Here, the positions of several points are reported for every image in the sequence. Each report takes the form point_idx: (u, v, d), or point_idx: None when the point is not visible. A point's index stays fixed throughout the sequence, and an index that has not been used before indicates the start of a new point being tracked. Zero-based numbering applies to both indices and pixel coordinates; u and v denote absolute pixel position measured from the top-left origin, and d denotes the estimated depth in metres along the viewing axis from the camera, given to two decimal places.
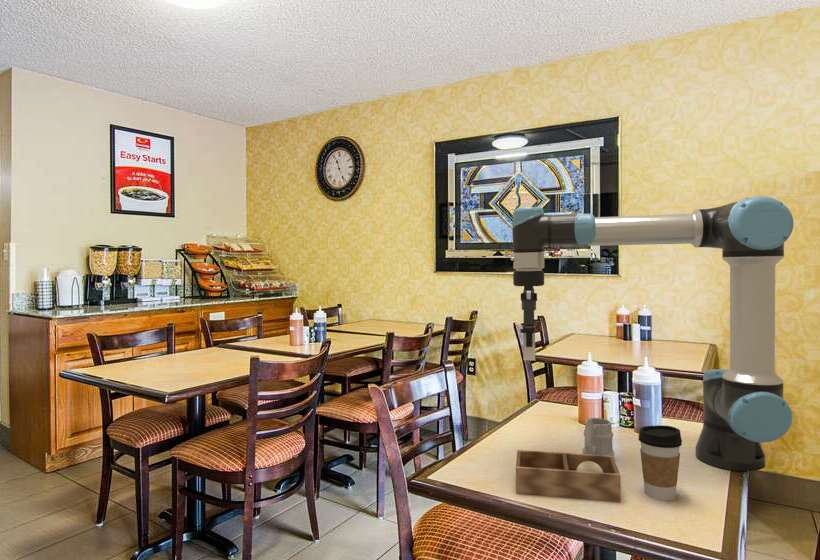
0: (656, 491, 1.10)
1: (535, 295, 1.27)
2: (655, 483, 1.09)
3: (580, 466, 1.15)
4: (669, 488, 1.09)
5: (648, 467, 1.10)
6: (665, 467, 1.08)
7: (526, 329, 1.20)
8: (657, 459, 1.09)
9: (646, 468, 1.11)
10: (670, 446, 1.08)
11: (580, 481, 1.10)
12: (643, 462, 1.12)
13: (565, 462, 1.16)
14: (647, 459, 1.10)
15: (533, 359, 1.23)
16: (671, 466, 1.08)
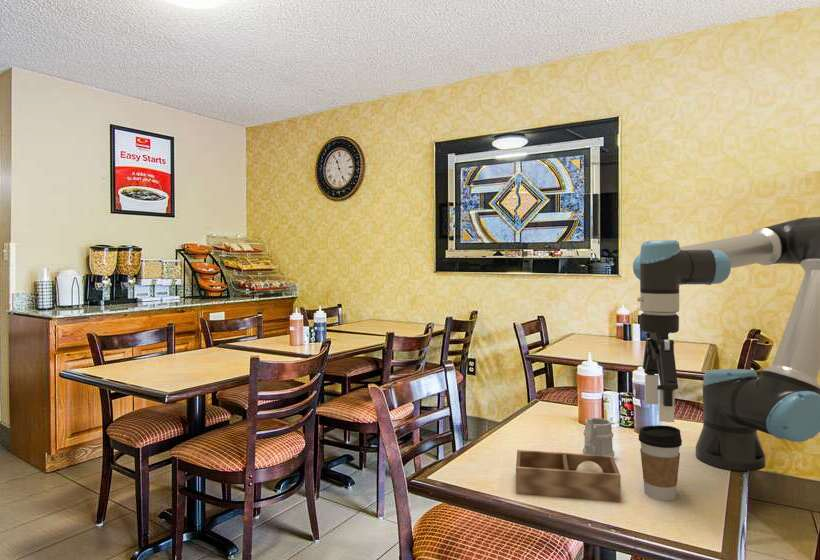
0: (656, 491, 1.10)
1: None
2: (655, 483, 1.10)
3: (580, 466, 1.15)
4: (669, 488, 1.09)
5: (648, 467, 1.10)
6: (665, 467, 1.08)
7: (667, 386, 1.02)
8: (657, 459, 1.09)
9: (646, 468, 1.11)
10: (670, 446, 1.08)
11: (580, 481, 1.10)
12: (643, 462, 1.12)
13: (565, 462, 1.16)
14: (647, 459, 1.10)
15: (672, 420, 1.04)
16: (671, 466, 1.08)
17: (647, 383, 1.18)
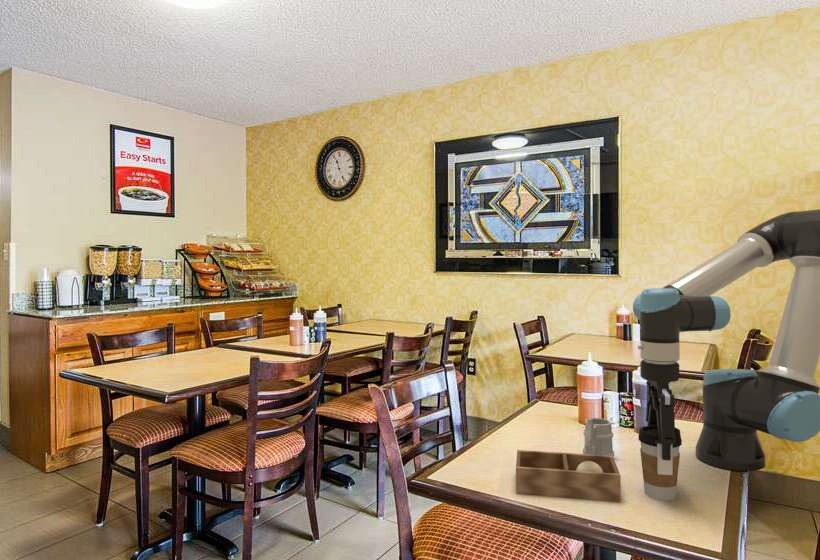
0: (656, 490, 1.10)
1: (670, 392, 1.09)
2: (655, 483, 1.10)
3: (580, 466, 1.15)
4: (669, 488, 1.09)
5: (648, 467, 1.10)
6: None
7: (666, 442, 1.04)
8: None
9: (646, 468, 1.11)
10: None
11: (580, 481, 1.10)
12: (643, 462, 1.12)
13: (565, 462, 1.16)
14: (647, 459, 1.10)
15: (670, 473, 1.07)
16: None
17: None
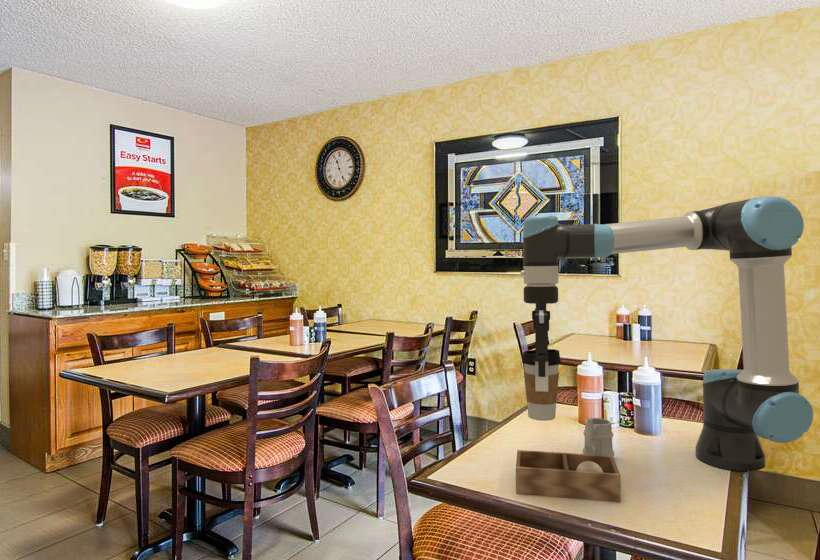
0: (535, 408, 1.15)
1: (548, 314, 1.14)
2: (534, 401, 1.15)
3: (580, 466, 1.15)
4: (547, 405, 1.14)
5: (528, 386, 1.15)
6: None
7: (539, 358, 1.09)
8: None
9: (527, 388, 1.16)
10: None
11: (580, 481, 1.10)
12: (525, 382, 1.17)
13: (565, 462, 1.16)
14: (527, 379, 1.15)
15: (546, 390, 1.12)
16: (548, 384, 1.13)
17: None
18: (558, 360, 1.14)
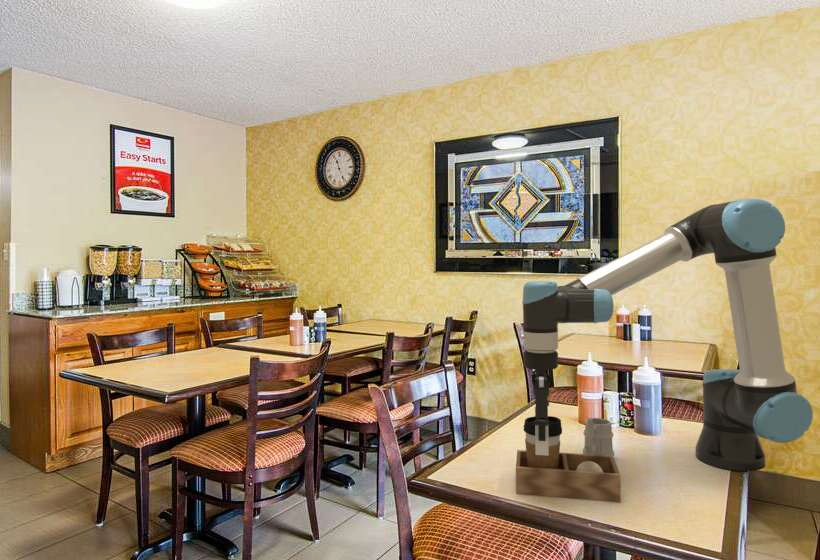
0: None
1: (548, 379, 1.15)
2: None
3: (580, 466, 1.15)
4: None
5: (530, 455, 1.16)
6: (544, 455, 1.14)
7: (539, 423, 1.08)
8: None
9: (528, 456, 1.17)
10: (548, 435, 1.13)
11: (580, 481, 1.10)
12: (526, 450, 1.17)
13: (565, 462, 1.16)
14: (529, 448, 1.16)
15: (546, 454, 1.10)
16: (549, 454, 1.14)
17: None
18: (559, 430, 1.15)
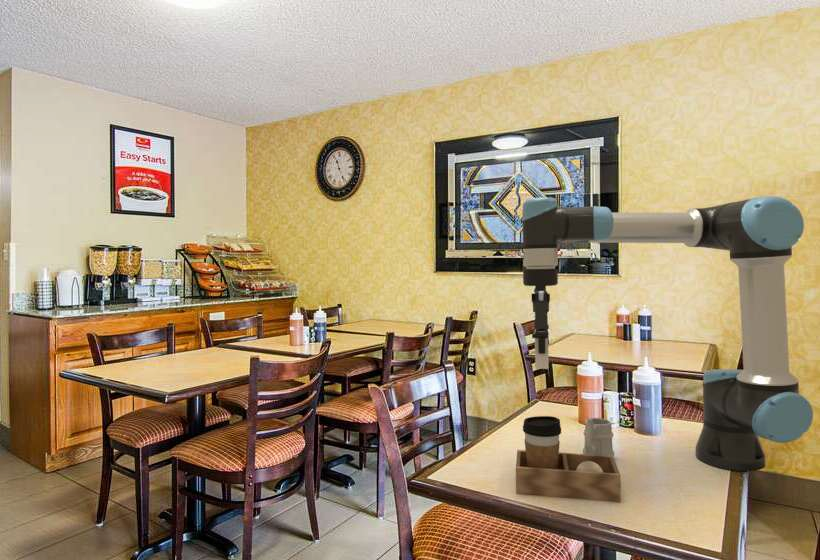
0: None
1: (548, 296, 1.14)
2: None
3: (580, 466, 1.15)
4: None
5: (529, 455, 1.16)
6: (543, 455, 1.14)
7: (539, 334, 1.07)
8: (536, 447, 1.14)
9: (528, 456, 1.17)
10: (547, 435, 1.13)
11: (580, 481, 1.10)
12: (526, 451, 1.17)
13: (565, 462, 1.16)
14: (528, 448, 1.16)
15: (546, 367, 1.10)
16: (549, 454, 1.14)
17: None
18: (559, 430, 1.15)
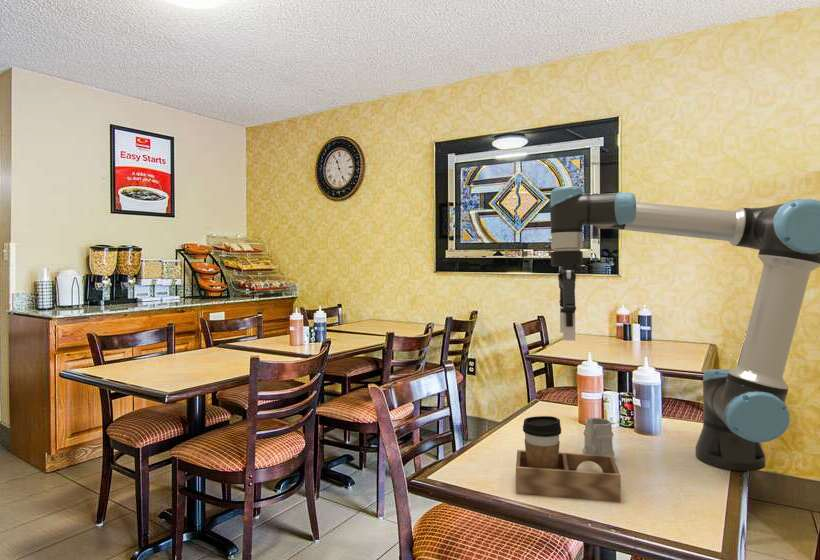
0: None
1: (574, 275, 1.26)
2: None
3: (580, 466, 1.15)
4: None
5: (529, 455, 1.16)
6: (543, 455, 1.14)
7: (567, 308, 1.19)
8: (536, 447, 1.14)
9: (528, 456, 1.17)
10: (547, 435, 1.13)
11: (580, 481, 1.10)
12: (526, 451, 1.17)
13: (565, 462, 1.16)
14: (528, 448, 1.16)
15: (573, 339, 1.22)
16: (549, 454, 1.14)
17: (561, 314, 1.35)
18: (559, 430, 1.15)
